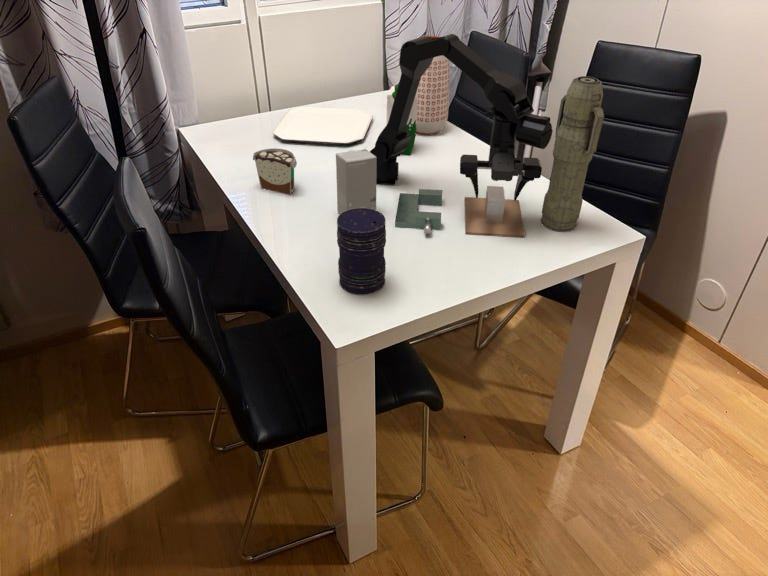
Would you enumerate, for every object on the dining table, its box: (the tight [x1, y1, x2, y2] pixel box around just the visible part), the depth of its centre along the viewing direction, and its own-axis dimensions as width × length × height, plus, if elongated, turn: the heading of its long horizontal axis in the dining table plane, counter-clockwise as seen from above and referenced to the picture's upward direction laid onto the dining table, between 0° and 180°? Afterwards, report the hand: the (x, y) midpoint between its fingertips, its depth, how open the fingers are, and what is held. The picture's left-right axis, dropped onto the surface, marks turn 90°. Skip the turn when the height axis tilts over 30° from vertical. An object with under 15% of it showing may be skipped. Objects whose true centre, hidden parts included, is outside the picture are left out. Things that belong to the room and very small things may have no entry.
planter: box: [416, 35, 451, 136], centre depth 191 cm, size 13×13×28 cm
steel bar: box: [485, 185, 506, 224], centre depth 150 cm, size 4×8×6 cm, turn 174°
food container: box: [252, 147, 298, 197], centre depth 162 cm, size 12×6×10 cm, turn 65°
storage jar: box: [336, 208, 387, 296], centre depth 125 cm, size 10×10×15 cm
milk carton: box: [385, 83, 418, 156], centre depth 180 cm, size 9×9×20 cm
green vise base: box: [394, 188, 443, 236], centre depth 151 cm, size 11×19×3 cm, turn 174°
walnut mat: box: [464, 196, 526, 239], centre depth 152 cm, size 14×18×1 cm
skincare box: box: [335, 148, 377, 215], centre depth 149 cm, size 8×7×16 cm
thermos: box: [540, 75, 605, 233], centre depth 140 cm, size 9×12×35 cm
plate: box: [272, 106, 374, 145], centre depth 199 cm, size 29×29×2 cm
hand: (495, 198), depth 149 cm, fingers open, 9 cm apart
